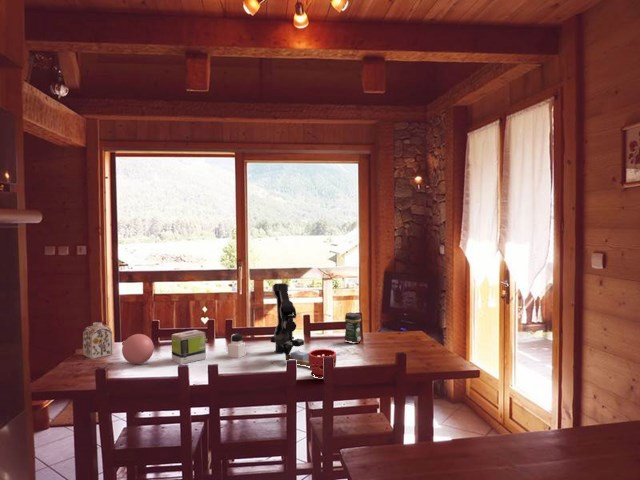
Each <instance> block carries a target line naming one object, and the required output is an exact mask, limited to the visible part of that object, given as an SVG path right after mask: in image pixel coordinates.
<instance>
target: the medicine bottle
mask: <svg viewBox="0 0 640 480" xmlns="http://www.w3.org/2000/svg"><path fill="white" fill-rule="evenodd" d="M246 343H247V342H244V341H243V335H242V334H240V333H233V334H232V335H231V337H230V343H228V344H227V358H234V359H241V358H243V357H245V356H246V351H247V350H246V349H247V348H246V347H247V346H246Z"/></svg>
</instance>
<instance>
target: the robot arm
mask: <svg viewBox="0 0 640 480" xmlns="http://www.w3.org/2000/svg"><path fill="white" fill-rule="evenodd" d="M271 290H272V292H273V296H274V297H275V298H276V313H277V314H276V315H277V325H276V327H275V329H274V330H275V331H274V333H273V336H271V337H270V343H273V344H275V350H273V353H278V354H285V356H286V355H288V354H290V353H291V352H292V350H293V347H295V348H296V347H297V348H298V347H303V346H304V345H305V339H304V338H303V339H302V338H296V339H295V337H294V336H293V333H294V331H295V330H297V324H296V322H295V321H294V319H297V311H296V308H295V306H294V302H292V301H291V300H290V297H289V293H288V291H289V284H287V283H283V282H282V283H280V282H279V283H277V282H275V283H274V284H272V288H271Z"/></svg>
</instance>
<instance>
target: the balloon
mask: <svg viewBox="0 0 640 480" xmlns="http://www.w3.org/2000/svg"><path fill="white" fill-rule="evenodd" d="M121 345H122V349H121V353H122V356H123V358H124V359H125V360H126V361H127V363H130V364H131V365H143V364H144V363H146V362H148V361H149V360H150V359H151V357H152V356H153V354H154V349H155V347H154V343H153V341H152V339H151V338H150V337H149V336H147V334H142V333H136V334H132V335H131V336H129V337H127V338H126V339H125V340H122V342H121Z"/></svg>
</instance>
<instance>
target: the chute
mask: <svg viewBox="0 0 640 480" xmlns="http://www.w3.org/2000/svg"><path fill="white" fill-rule="evenodd" d="M324 356H325V355H324V354H323V355H322V357H324ZM289 359H295V358H290V354H288V355H285V361H286V360H289ZM295 360H297V364H300V365H306V366H310V365H309V361H306V360H301V359H295Z"/></svg>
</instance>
